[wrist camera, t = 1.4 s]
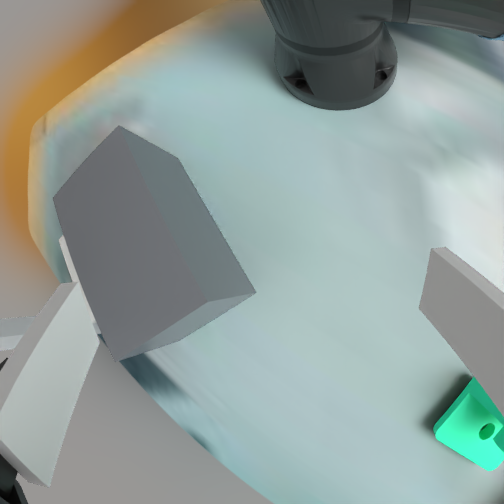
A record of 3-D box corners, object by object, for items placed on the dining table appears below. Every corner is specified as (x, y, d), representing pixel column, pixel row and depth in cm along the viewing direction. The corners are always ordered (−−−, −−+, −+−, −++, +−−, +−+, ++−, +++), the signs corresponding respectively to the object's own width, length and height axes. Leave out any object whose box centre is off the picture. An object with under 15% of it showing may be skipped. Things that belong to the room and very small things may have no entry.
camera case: (116, 213, 43) (52, 198, 32) (178, 158, 40) (118, 125, 29) (178, 341, 39) (114, 362, 28) (256, 292, 36) (207, 302, 25)
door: (99, 260, 42) (-45, 251, 21) (120, 241, 41) (-32, 221, 20) (129, 327, 40) (-24, 354, 19) (152, 310, 39) (-11, 333, 17)
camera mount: (428, 425, 29) (444, 473, 19) (470, 373, 28) (503, 407, 18) (486, 462, 25) (508, 507, 15) (525, 416, 24) (560, 451, 14)
